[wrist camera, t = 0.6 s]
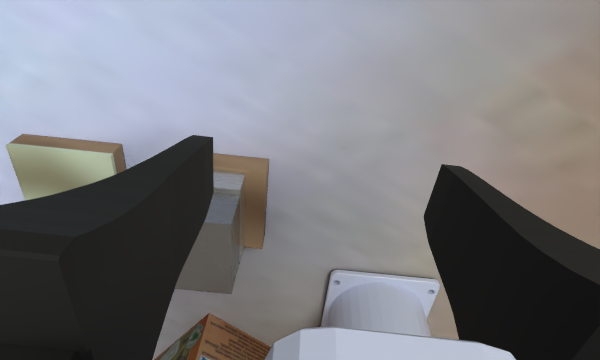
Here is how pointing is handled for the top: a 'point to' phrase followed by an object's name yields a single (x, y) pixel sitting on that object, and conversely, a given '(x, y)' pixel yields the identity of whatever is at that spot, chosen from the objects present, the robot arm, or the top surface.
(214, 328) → the orange food box
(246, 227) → the stand
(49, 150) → the stand
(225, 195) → the block
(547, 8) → the top surface
